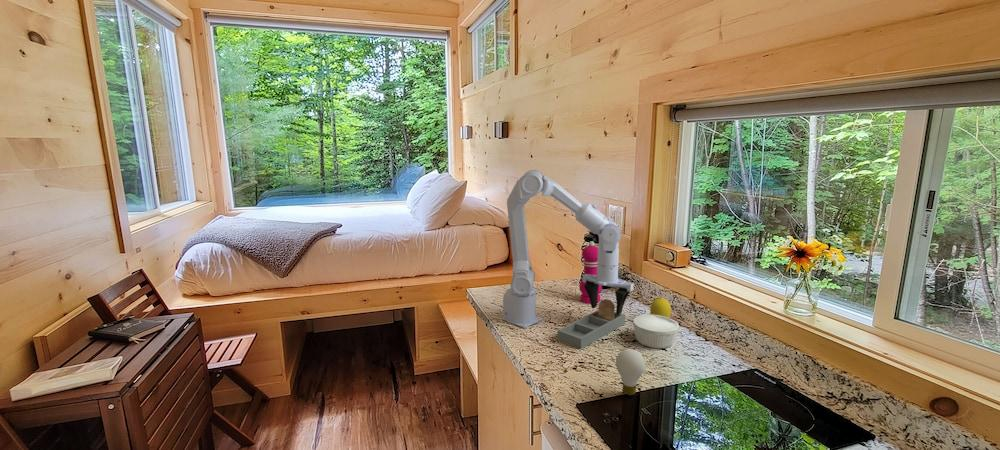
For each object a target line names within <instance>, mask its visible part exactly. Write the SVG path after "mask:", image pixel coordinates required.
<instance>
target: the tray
mask: <svg viewBox="0 0 1000 450" xmlns="http://www.w3.org/2000/svg"><path fill="white" fill-rule="evenodd" d="M625 324H626V314H624V313H620V314H616V311H614V319H613V320H611V321H608V320H605V319H601V318H599V309H597V310H596V311H594V312H591V313H589V314H588V315H586V316H583V317H581V318H579V319H577V320H576V321H573V322H571V323H569V324H566V325H564V326H563V327H561V328H559V329H557V337H556V338H557V339H556V340H557V341H558V342H562V343H564V344H566V345H569V346H572V347H574V348H577V349H580V350H583V349H584V348H586V347H588V346H589V345H591V344H593V343H594V342H596V341H598V340H599V339H601V338H604V337H605V336H606V335H608V334H611V332H614V331H616V330H617V329H619V328H620V327H622V326H624V325H625Z"/></svg>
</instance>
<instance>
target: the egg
mask: <svg viewBox="0 0 1000 450" xmlns="http://www.w3.org/2000/svg"><path fill="white" fill-rule="evenodd" d="M615 307H616V306H615V303H614V302H613V301H612V300H611V299H609V298H608V299H607V298H605V299H603V300H600V302H599V303H598V310H599V318H601V319H605V320H608V321H611V320H613V319H614V311H615V310H616V308H615ZM615 312H616V311H615Z"/></svg>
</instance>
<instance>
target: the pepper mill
mask: <svg viewBox="0 0 1000 450" xmlns="http://www.w3.org/2000/svg"><path fill="white" fill-rule="evenodd" d="M598 247H599V246H596V245H595V242H594V241H591V240H590V241H589V242H588V246H587V245H586V246H584V248H583V249H582V251H581V256H582V259H583V267H584V273H583V275H585V274H589V275H597V264H598ZM579 283H580V284H579V287H578V288H579V291H580V293H581V294H580V301H581V302H582V303H584V304H590V305H591V302H590V299H589V296H588V293H587V291H586V290H585V288H584V285H585V284H586V282H583V277H582V278H581V281H580V282H579ZM602 291H603V286H602V285H599V288H598V295H597V304H599V303H600V302H601V295H600V294H601V292H602Z"/></svg>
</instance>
